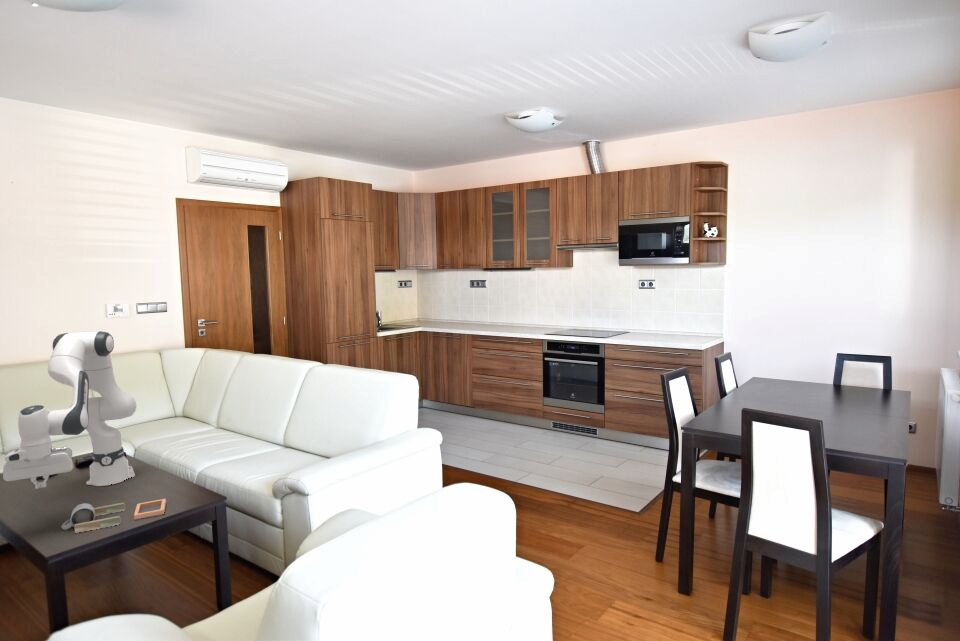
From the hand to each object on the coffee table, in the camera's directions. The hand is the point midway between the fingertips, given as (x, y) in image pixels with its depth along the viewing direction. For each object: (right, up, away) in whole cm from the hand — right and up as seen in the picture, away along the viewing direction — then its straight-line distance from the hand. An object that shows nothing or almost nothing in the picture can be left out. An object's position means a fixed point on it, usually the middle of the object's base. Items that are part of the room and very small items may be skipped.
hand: (41, 487), depth 208 cm
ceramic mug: (+10, -16, +6) cm, 20 cm away
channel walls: (+16, -16, +9) cm, 24 cm away
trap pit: (+31, -14, +16) cm, 38 cm away
